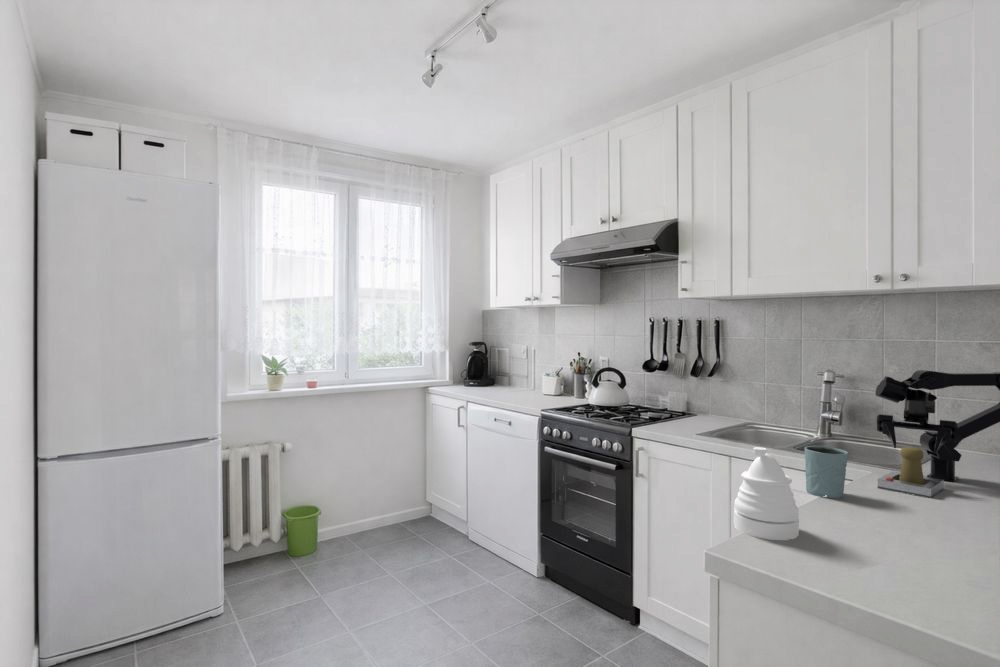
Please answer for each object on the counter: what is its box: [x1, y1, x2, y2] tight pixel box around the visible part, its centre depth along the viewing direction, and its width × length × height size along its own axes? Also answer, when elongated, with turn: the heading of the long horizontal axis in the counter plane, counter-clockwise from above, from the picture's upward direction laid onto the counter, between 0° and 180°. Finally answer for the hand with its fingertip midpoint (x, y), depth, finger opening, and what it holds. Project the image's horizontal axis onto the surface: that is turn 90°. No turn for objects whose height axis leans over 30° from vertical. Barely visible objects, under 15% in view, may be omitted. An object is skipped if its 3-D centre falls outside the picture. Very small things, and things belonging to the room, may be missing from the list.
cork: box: [899, 446, 924, 485], centre depth 152 cm, size 6×6×11 cm
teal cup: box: [804, 445, 849, 499], centre depth 146 cm, size 10×10×12 cm
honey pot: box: [733, 446, 800, 541], centre depth 119 cm, size 13×13×18 cm
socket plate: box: [877, 470, 945, 499], centre depth 152 cm, size 14×12×3 cm
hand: (914, 449), depth 155 cm, fingers open, 9 cm apart
